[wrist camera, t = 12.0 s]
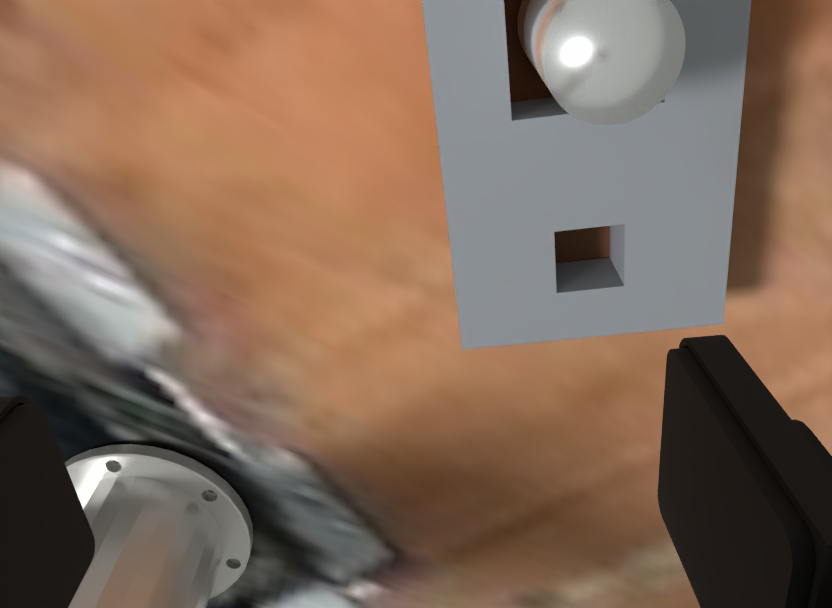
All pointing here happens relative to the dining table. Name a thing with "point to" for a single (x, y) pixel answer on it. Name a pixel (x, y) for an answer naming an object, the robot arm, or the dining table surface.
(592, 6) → the cylinder
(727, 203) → the grey hole board
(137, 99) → the dining table surface
